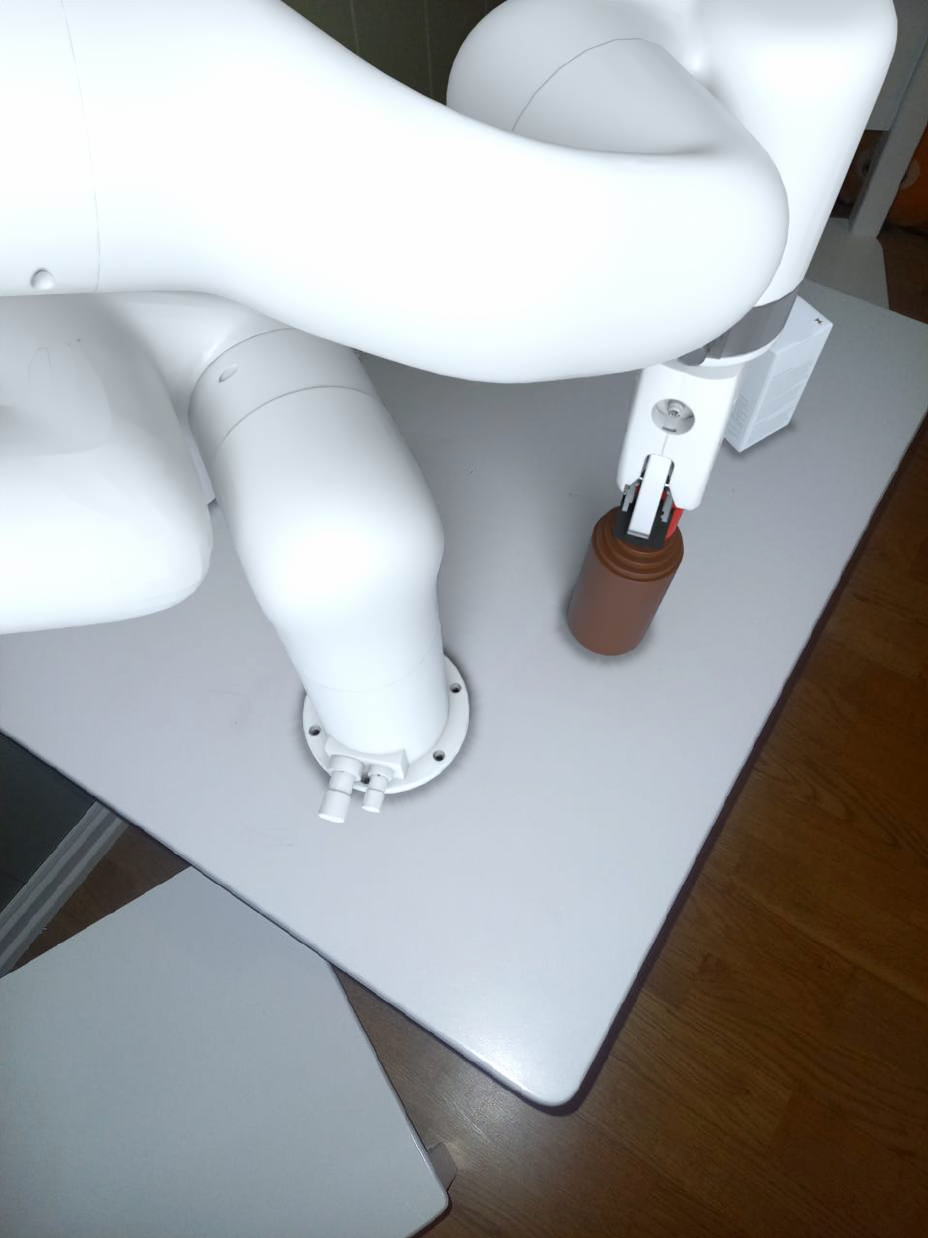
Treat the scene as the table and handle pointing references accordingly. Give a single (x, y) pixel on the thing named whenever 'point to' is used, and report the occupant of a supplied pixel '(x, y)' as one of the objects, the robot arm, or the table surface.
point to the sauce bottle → (620, 588)
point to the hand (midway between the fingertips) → (646, 511)
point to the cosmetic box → (778, 378)
